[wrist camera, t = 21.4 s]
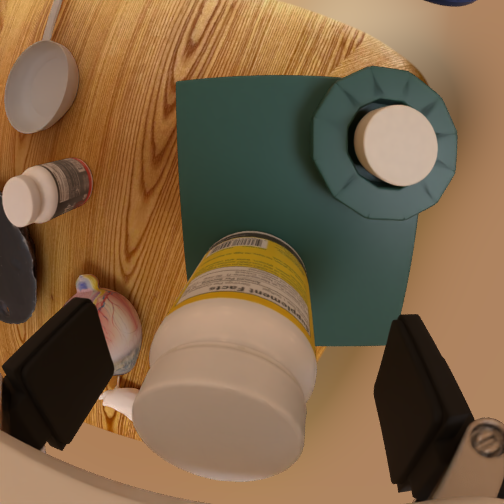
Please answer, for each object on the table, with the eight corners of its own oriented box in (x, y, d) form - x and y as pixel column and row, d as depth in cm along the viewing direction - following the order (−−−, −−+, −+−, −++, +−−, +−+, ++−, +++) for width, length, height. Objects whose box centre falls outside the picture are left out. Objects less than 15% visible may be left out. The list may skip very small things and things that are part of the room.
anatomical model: (95, 341, 40) (59, 386, 30) (77, 259, 35) (27, 297, 26) (158, 354, 39) (129, 408, 30) (147, 267, 34) (103, 313, 25)
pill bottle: (64, 210, 33) (7, 237, 24) (53, 164, 31) (-7, 181, 22) (100, 200, 32) (42, 227, 23) (89, 150, 30) (27, 163, 21)
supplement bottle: (263, 342, 15) (238, 501, 7) (181, 287, 14) (92, 428, 7) (331, 272, 13) (366, 437, 6) (241, 204, 13) (166, 322, 5)
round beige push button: (353, 104, 10) (363, 99, 8) (421, 112, 9) (439, 110, 8) (352, 176, 11) (361, 183, 9) (418, 181, 10) (435, 189, 9)
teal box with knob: (239, 107, 27) (160, 69, 10) (356, 109, 26) (457, 81, 8) (242, 233, 32) (185, 360, 14) (351, 236, 30) (415, 365, 13)
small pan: (17, 127, 30) (-4, 130, 26) (51, -4, 23) (32, -11, 19) (75, 136, 30) (54, 139, 26) (117, -13, 23) (100, -24, 19)
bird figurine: (123, 391, 45) (175, 424, 42) (97, 410, 38) (152, 448, 36) (127, 369, 44) (182, 402, 41) (98, 387, 37) (158, 426, 35)
